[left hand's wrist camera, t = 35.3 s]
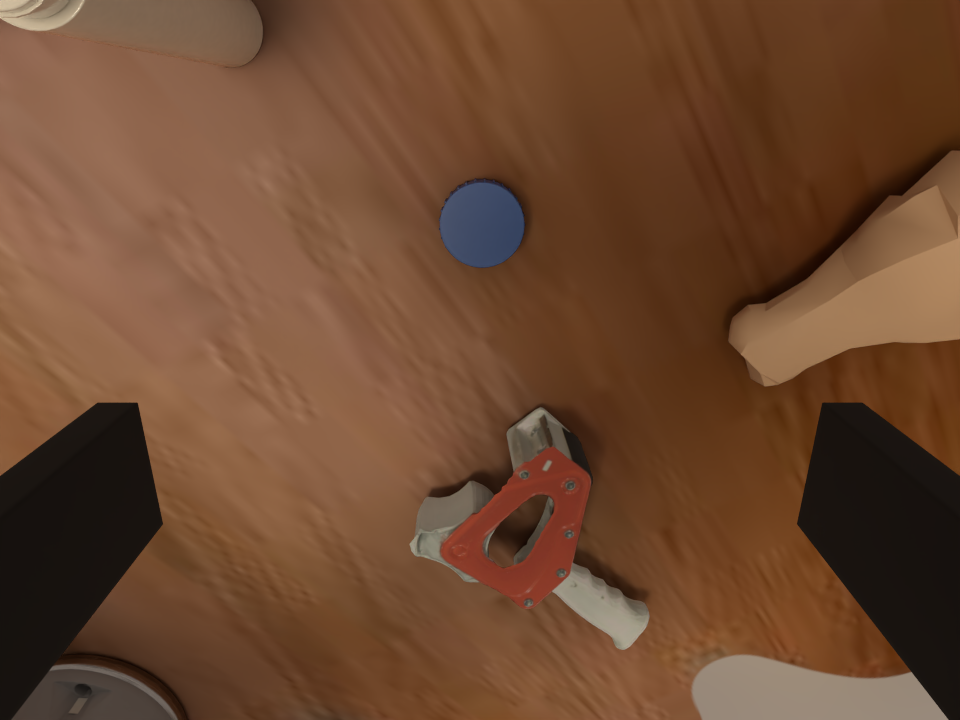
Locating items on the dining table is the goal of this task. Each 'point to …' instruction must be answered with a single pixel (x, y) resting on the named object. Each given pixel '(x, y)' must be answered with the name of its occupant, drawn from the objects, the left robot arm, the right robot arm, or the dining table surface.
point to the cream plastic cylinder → (150, 25)
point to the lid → (482, 223)
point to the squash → (867, 286)
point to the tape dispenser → (550, 550)
